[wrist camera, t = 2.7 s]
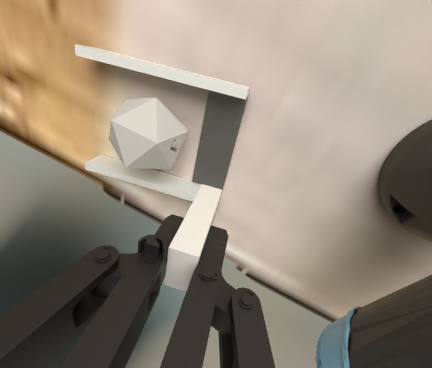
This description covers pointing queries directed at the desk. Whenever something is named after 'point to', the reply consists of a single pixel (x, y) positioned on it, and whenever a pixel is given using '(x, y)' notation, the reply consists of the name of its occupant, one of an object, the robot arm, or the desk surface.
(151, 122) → the die
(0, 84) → the desk surface
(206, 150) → the grey u-shaped frame
